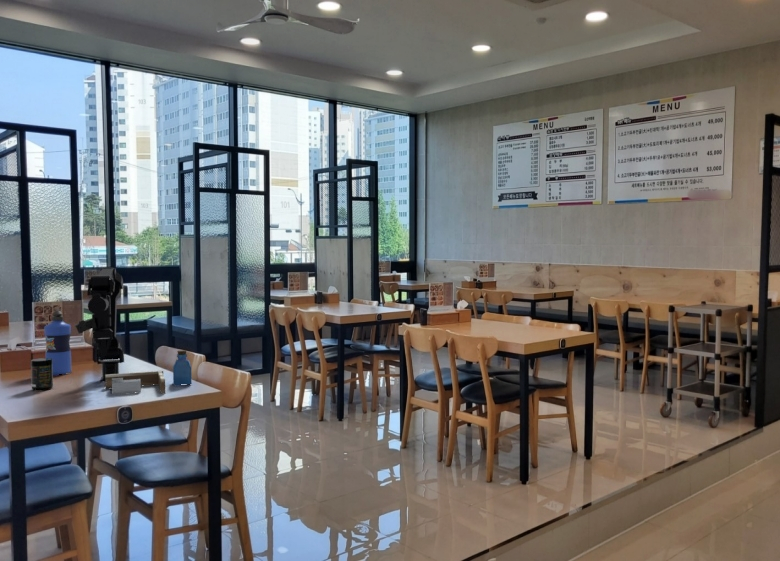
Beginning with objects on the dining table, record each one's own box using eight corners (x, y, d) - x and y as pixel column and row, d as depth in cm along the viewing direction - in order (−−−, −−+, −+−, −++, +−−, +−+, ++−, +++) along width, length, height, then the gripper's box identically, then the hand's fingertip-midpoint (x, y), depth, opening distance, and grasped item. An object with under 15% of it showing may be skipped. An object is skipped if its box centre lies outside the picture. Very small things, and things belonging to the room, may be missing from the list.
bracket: (139, 387, 228) (139, 376, 228) (140, 392, 220) (140, 380, 220) (112, 389, 225) (111, 378, 225) (112, 394, 216) (111, 383, 216)
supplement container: (57, 388, 229) (56, 358, 228) (40, 391, 222) (39, 361, 222) (44, 386, 231) (43, 357, 231) (27, 390, 225) (26, 360, 225)
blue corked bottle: (191, 384, 233) (191, 351, 232) (173, 386, 231) (172, 352, 231) (191, 381, 239) (190, 349, 238) (173, 382, 237) (173, 350, 236)
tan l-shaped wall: (105, 388, 228) (105, 374, 227) (163, 383, 235) (163, 370, 235) (105, 398, 211) (104, 383, 211) (167, 393, 219) (167, 379, 218)
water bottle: (54, 376, 251) (53, 312, 250) (40, 374, 256) (38, 311, 255) (76, 372, 259) (75, 310, 258) (62, 370, 264) (61, 309, 263)
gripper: (76, 309, 231) (77, 352, 232) (75, 314, 214) (77, 361, 215) (110, 308, 236) (111, 350, 237) (112, 313, 219) (113, 358, 220)
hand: (102, 355), depth 227 cm, fingers open, 9 cm apart
